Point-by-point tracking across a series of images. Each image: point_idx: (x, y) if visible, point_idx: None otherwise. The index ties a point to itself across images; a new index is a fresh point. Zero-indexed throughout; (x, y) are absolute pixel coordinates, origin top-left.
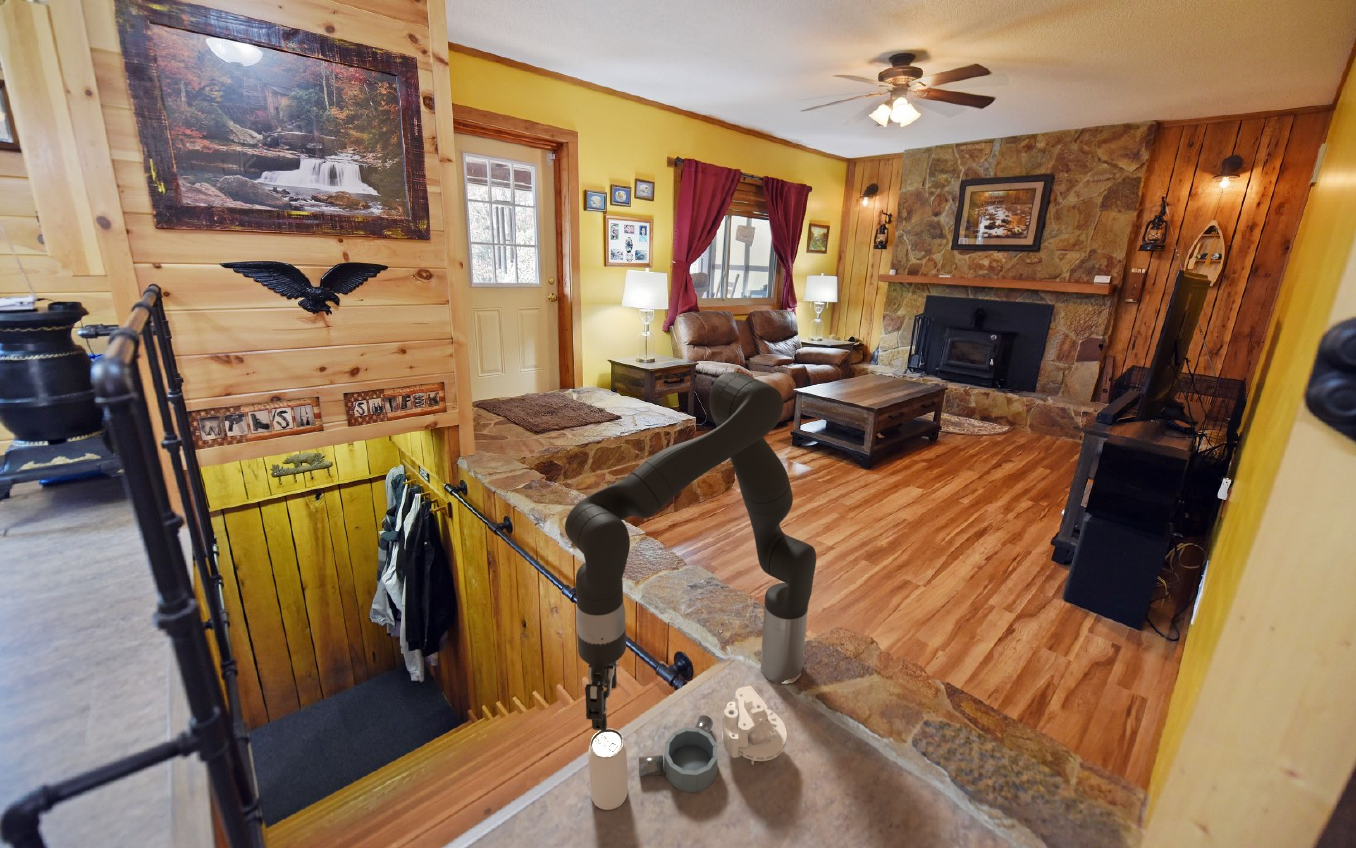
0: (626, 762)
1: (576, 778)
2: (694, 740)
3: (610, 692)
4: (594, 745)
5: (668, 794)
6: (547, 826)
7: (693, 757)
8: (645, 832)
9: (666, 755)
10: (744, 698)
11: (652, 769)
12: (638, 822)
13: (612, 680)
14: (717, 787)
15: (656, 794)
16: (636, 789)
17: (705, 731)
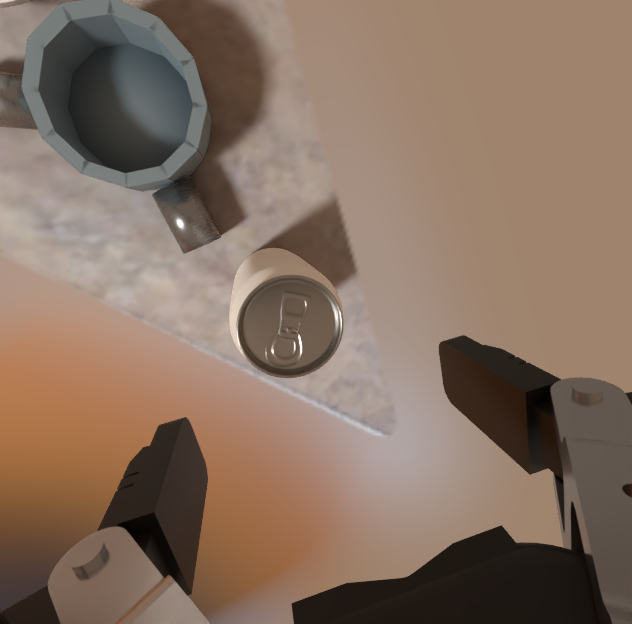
0: (271, 258)
1: None
2: (62, 112)
3: (602, 455)
4: (308, 359)
5: (229, 157)
6: (364, 362)
7: (111, 111)
8: (324, 181)
9: (168, 170)
10: None
11: (202, 207)
12: (310, 203)
13: (181, 466)
14: None
15: (239, 185)
16: (244, 234)
17: (12, 78)
